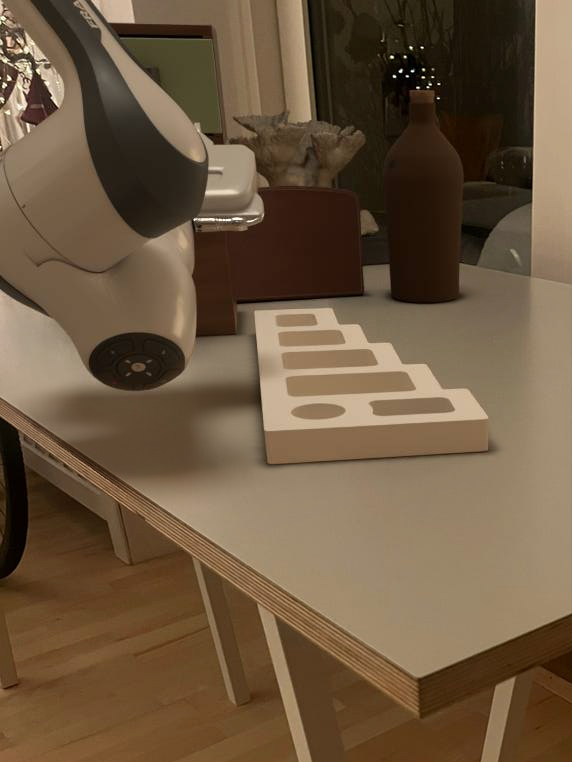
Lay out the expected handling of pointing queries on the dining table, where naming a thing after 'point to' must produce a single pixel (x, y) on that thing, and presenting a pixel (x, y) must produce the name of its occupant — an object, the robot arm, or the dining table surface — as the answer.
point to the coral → (308, 162)
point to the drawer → (183, 75)
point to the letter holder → (300, 246)
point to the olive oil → (423, 208)
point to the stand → (209, 247)
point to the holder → (353, 395)
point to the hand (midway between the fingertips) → (138, 130)
